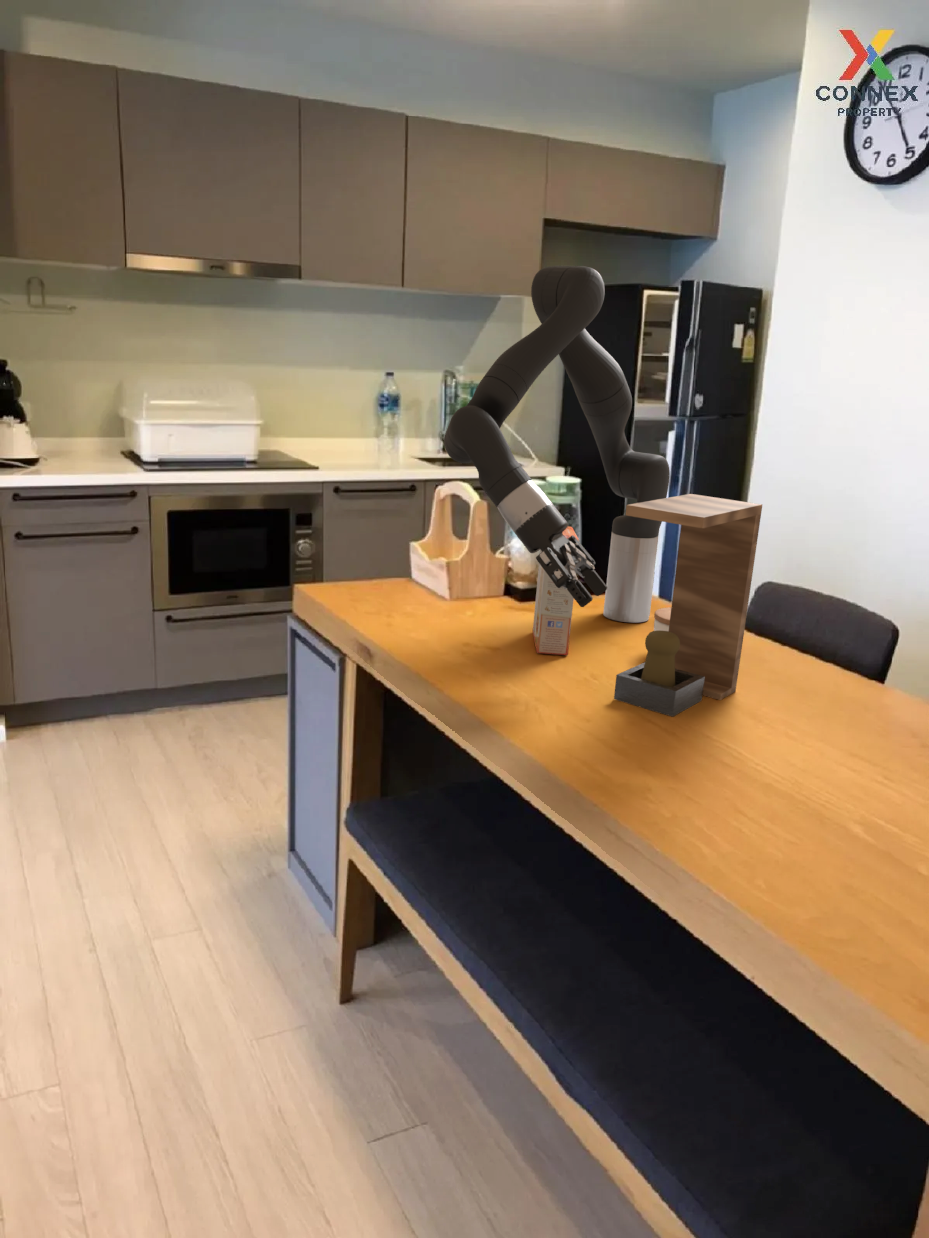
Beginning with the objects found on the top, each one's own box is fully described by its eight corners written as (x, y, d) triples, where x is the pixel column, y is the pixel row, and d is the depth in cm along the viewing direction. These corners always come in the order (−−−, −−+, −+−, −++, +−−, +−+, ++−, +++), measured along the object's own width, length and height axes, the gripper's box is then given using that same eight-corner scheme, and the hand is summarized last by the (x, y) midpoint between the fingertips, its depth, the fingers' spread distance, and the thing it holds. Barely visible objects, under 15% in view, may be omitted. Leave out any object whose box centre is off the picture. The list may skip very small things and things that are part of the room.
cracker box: (570, 656, 170) (581, 539, 164) (535, 654, 170) (545, 537, 164) (563, 634, 184) (573, 525, 178) (531, 632, 184) (541, 522, 178)
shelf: (668, 673, 164) (690, 493, 156) (735, 691, 158) (762, 504, 149) (605, 703, 148) (626, 504, 140) (677, 724, 141) (703, 517, 133)
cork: (675, 709, 148) (683, 640, 145) (635, 703, 149) (642, 635, 146) (675, 696, 153) (683, 629, 151) (636, 691, 155) (644, 624, 152)
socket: (644, 684, 158) (647, 661, 157) (701, 700, 152) (704, 676, 151) (613, 699, 150) (616, 674, 149) (672, 716, 144) (675, 691, 143)
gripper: (534, 507, 145) (601, 593, 143) (563, 496, 157) (625, 575, 156) (498, 537, 148) (564, 622, 147) (529, 524, 161) (590, 602, 160)
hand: (595, 598), depth 152 cm, fingers open, 8 cm apart
